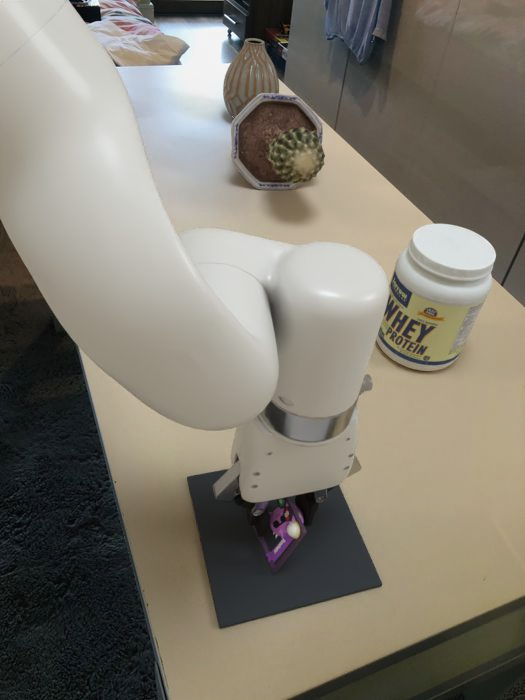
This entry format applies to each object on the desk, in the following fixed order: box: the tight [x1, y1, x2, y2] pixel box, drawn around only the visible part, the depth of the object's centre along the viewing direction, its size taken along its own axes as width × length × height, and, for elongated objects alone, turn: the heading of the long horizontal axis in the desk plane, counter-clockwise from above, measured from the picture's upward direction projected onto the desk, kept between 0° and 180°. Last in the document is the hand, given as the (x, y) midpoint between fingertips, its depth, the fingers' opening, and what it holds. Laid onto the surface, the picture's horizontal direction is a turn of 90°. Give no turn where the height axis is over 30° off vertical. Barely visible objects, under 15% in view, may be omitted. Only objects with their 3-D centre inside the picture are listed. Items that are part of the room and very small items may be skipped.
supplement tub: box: [376, 223, 497, 372], centre depth 74 cm, size 12×12×17 cm
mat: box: [186, 468, 383, 630], centre depth 57 cm, size 16×16×1 cm
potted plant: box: [230, 93, 326, 191], centre depth 103 cm, size 18×18×30 cm
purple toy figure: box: [246, 497, 306, 572], centre depth 54 cm, size 7×5×9 cm
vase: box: [222, 37, 280, 119], centre depth 129 cm, size 13×13×18 cm
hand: (280, 517), depth 55 cm, fingers closed on purple toy figure, 4 cm apart
